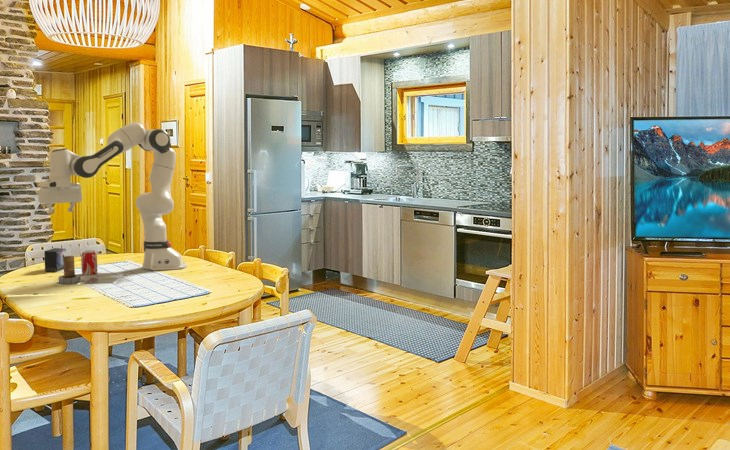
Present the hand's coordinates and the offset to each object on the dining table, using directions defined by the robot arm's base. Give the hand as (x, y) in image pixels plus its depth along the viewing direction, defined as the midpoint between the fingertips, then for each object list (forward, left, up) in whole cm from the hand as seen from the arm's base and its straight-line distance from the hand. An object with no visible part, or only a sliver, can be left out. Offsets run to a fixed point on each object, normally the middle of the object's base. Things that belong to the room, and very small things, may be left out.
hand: (61, 212), depth 298 cm
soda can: (-11, -4, -32) cm, 34 cm away
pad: (-20, +14, -32) cm, 40 cm away
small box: (+9, -22, -32) cm, 40 cm away
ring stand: (-7, +17, -32) cm, 36 cm away
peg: (-7, +17, -31) cm, 36 cm away
